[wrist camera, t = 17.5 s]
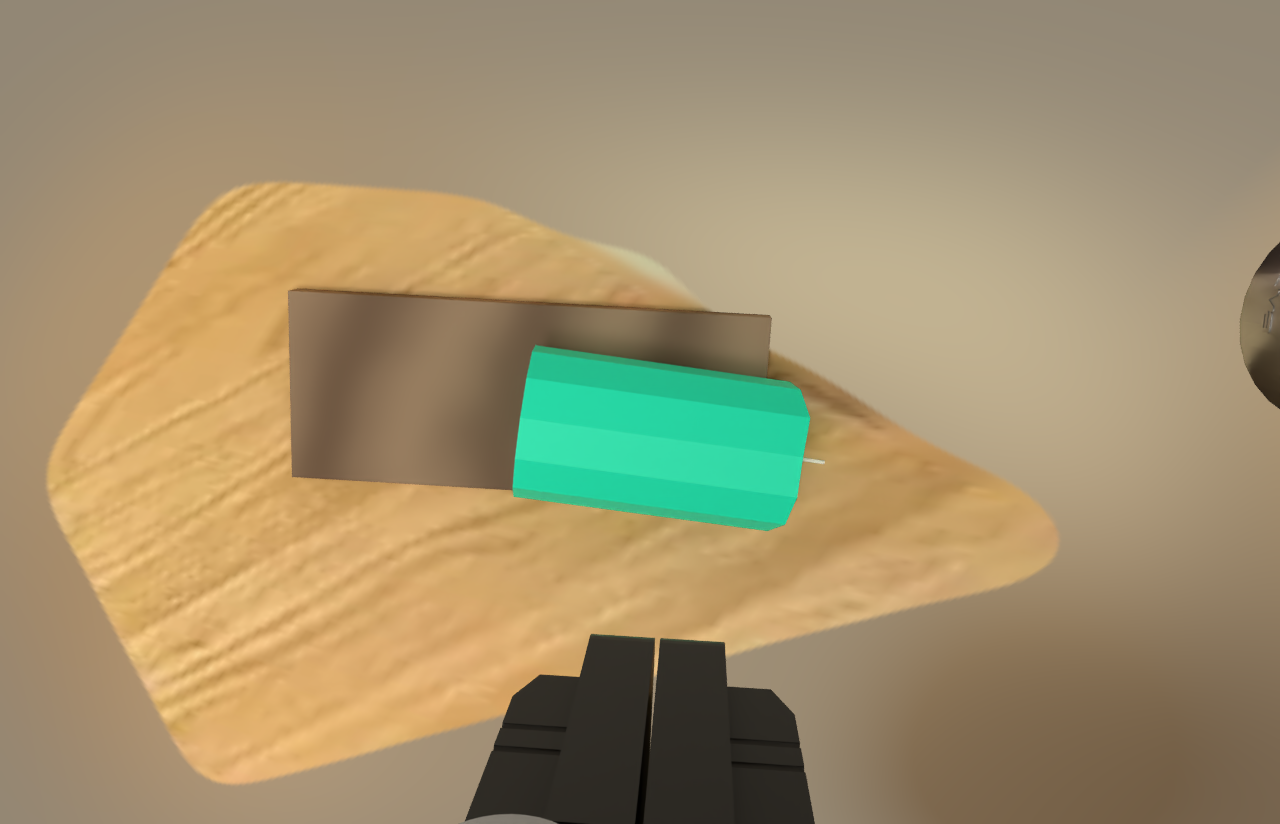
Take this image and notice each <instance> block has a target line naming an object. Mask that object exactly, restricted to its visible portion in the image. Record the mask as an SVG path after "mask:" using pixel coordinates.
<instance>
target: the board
mask: <svg viewBox="0 0 1280 824" xmlns="http://www.w3.org/2000/svg"><path fill="white" fill-rule="evenodd" d="M288 306H289V353H290V401H291V448H292V477H302V478H319V479H336V480H352V481H369V482H385V483H402V484H419V485H435V486H452V487H468V488H485V489H502V490H513V476H514V463H515V454H516V446H517V438H518V430H519V422H520V415H521V409H522V403H523V397H524V390H525V384H526V378H527V373H528V369H529V364H530V359H531V355H532V351H533V349H534V347H535V345H537V346H544V347H551V348H558V349H565V350H572V351H579V352H586V353H593V354H600V355H607V356H614V357H621V358H628V359H635V360H642V361H649V362H656V363H663V364H670V365H677V366H684V367H691V368H698V369H705V370H712V371H719V372H726V373H733V374H740V375H747V376H754V377H761V378H767V369H768V357H769V344H770V331H771V319H772V318H771V317H770V315H757V314H739V313H720V312H704V311H686V310H668V309H650V308H632V307H614V306H596V305H579V304H561V303H543V302H525V301H507V300H489V299H471V298H453V297H436V296H418V295H400V294H382V293H364V292H346V291H328V290H311V289H294V290H290V291H288Z"/></svg>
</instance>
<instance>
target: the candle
mask: <svg viewBox="0 0 1280 824" xmlns="http://www.w3.org/2000/svg"><path fill="white" fill-rule="evenodd" d="M809 422H810V416H809V413H808V410H807V407H806V404H805V401H804V398H803V395H802V392H801V390H800V389H799V388H798V387H796V386H795V385H794V384H792V383H791V382H788V381H781V380H774V379H767V378H761V377H754V376H747V375H740V374H733V373H726V372H719V371H712V370H705V369H698V368H691V367H684V366H677V365H670V364H663V363H656V362H649V361H642V360H635V359H628V358H621V357H614V356H607V355H600V354H593V353H586V352H579V351H572V350H565V349H558V348H551V347H544V346H537V345H535V347H534V349H533V351H532V355H531V359H530V364H529V369H528V373H527V378H526V384H525V390H524V397H523V403H522V409H521V415H520V422H519V430H518V438H517V446H516V454H515V463H514V476H513V495H514V497H520V498H527V499H535V500H542V501H549V502H557V503H564V504H572V505H579V506H586V507H594V508H601V509H609V510H616V511H623V512H631V513H638V514H646V515H653V516H660V517H668V518H675V519H683V520H690V521H697V522H705V523H712V524H720V525H727V526H734V527H742V528H749V529H757V530H764V531H769V530H772V529H774V528H777V527H780V526H783V525H785V524H786V521H787V519H788V517H789V515H790V512H791V510H792V508H793V506H794V503H795V501H796V499H797V495H798V488H799V482H800V475H801V468H802V462H803V461H805V462H812V463H819V464H824V463H825V461H824V460H817V459H810V458H803V455H804V450H805V444H806V439H807V433H808V428H809Z"/></svg>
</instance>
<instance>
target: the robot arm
mask: <svg viewBox="0 0 1280 824" xmlns="http://www.w3.org/2000/svg"><path fill="white" fill-rule="evenodd" d="M1240 344H1241V349H1242V353H1243V357H1244V361H1245V365H1246V367H1247V369H1248V371H1249V373H1250V375H1251V377H1252V379H1253V381H1254V383H1255V385H1256V386H1257V387H1258V389H1259V390H1260V391H1261V392H1262V393H1263V394H1264V396H1265V397H1266V398H1267V399H1268V400H1269V401H1270V402H1271V403H1272V404H1274V405H1275V406H1276V407H1278V408H1279V409H1280V243H1279V244H1278V245H1277V246H1276V247H1275V248H1274V249H1273V250H1272V251H1271V252H1270V253H1269V254H1268V255H1267V257H1266V259H1265V260H1264V261H1263V263H1262V264H1261V266H1260V267H1259V268H1258V270H1257V271H1256V273H1255V275H1254V277H1253V279H1252V282H1251V284H1250V286H1249V288H1248V291H1247V293H1246V296H1245V299H1244V304H1243V309H1242V313H1241V318H1240ZM654 655H655V638H644V637H629V636H613V635H597V634H591V635H590V639H589V643H588V646H587V650H586V654H585V658H584V662H583V666H582V670H581V674H580V677H569V676H554V675H539V676H538V677H536V678H535V679H534V680H533V681H531V682H530V683H529V684H527V685H526V686H525V687H524V688H522V689H521V690H520V691H519V692H517V693H516V694H515V695H513V697H512V699H511V702H510V705H509V707H508V710H507V712H506V715H505V718H504V720H503V725H502V728H500V731H499V733H498V736H497V739H496V741H495V744H494V750H493V751H492V752H491V754H490V757H489V760H488V762H487V765H486V767H485V770H484V772H483V775H482V778H481V781H480V783H479V786H478V788H477V791H476V794H475V796H474V799H473V801H472V804H471V806H470V809H469V812H468V814H467V817H466V820H465V822H463V823H460V824H815V822H814V817H813V812H812V806H811V801H810V795H809V790H808V784H807V779H806V774H805V772H804V763H803V757H802V752H801V748H800V741H799V736H798V731H797V725H796V720H795V715H794V714H793V713H792V711H791V710H789V708H788V707H787V706H786V705H785V704H784V703H783V702H782V701H781V700H780V699H779V698H778V697H777V696H776V694H775V693H774V692H773V691H772V690H769V689H754V688H739V687H727V676H726V658H725V643H724V642H710V641H694V640H679V639H663V638H661V639H660V648H659V659H658V670H657V681H656V693H655V703H654V714H653V725H652V737H651V717H652V697H653V676H654ZM650 737H651V747H650Z"/></svg>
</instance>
